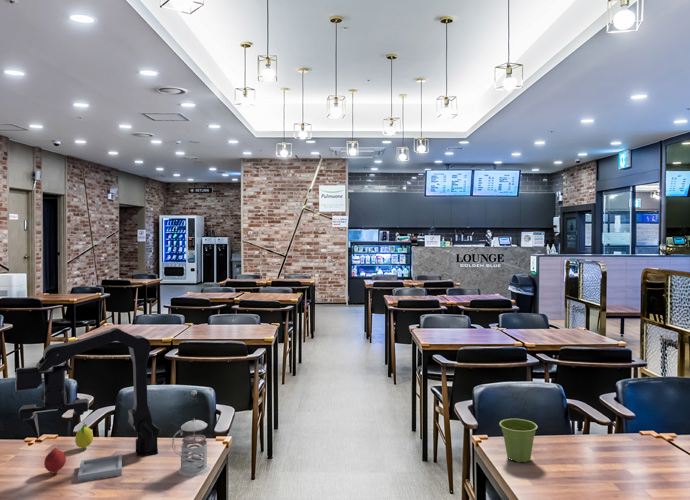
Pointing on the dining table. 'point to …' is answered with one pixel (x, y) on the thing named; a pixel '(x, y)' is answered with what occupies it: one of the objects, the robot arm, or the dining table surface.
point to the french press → (193, 449)
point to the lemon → (84, 437)
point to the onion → (55, 460)
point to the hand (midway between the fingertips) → (55, 436)
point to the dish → (100, 468)
